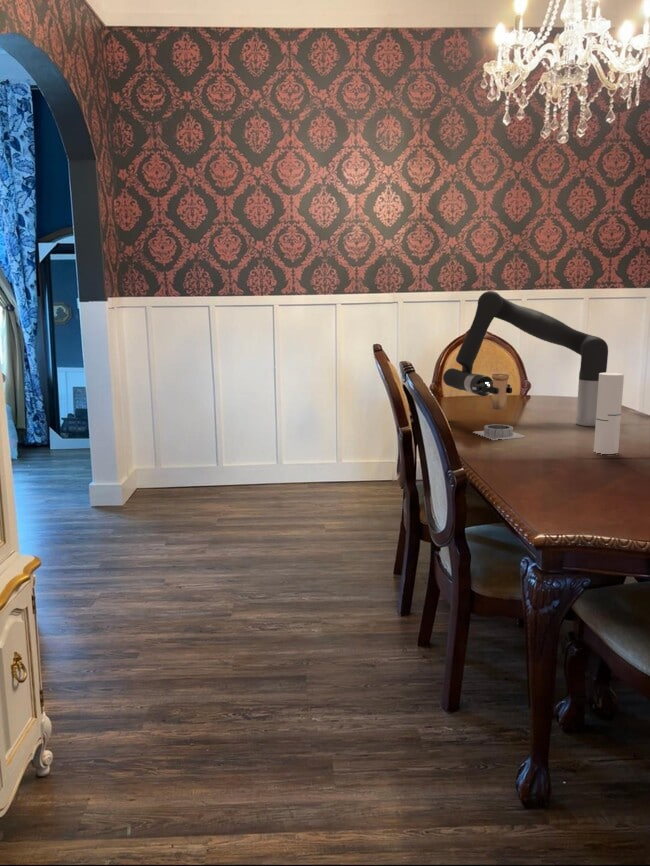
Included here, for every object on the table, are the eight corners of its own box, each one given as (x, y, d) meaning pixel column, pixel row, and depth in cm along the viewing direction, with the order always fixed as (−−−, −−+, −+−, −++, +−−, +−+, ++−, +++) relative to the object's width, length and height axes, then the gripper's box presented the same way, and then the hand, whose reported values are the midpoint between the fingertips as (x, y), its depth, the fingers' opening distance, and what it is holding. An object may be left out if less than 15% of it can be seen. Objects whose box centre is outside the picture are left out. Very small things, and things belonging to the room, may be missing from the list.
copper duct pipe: (501, 406, 249) (503, 373, 246) (510, 409, 244) (512, 375, 241) (487, 407, 247) (488, 374, 245) (496, 410, 242) (497, 376, 239)
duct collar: (503, 430, 255) (504, 422, 255) (524, 437, 243) (525, 429, 243) (472, 433, 251) (473, 425, 251) (492, 440, 239) (492, 431, 239)
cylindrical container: (620, 455, 216) (626, 375, 211) (595, 454, 217) (601, 375, 212) (615, 450, 223) (621, 372, 218) (591, 449, 224) (597, 372, 219)
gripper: (461, 375, 254) (486, 381, 238) (495, 373, 259) (522, 379, 243) (461, 395, 256) (485, 402, 240) (494, 393, 260) (521, 400, 244)
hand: (504, 390), depth 242 cm, fingers closed on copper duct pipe, 5 cm apart
